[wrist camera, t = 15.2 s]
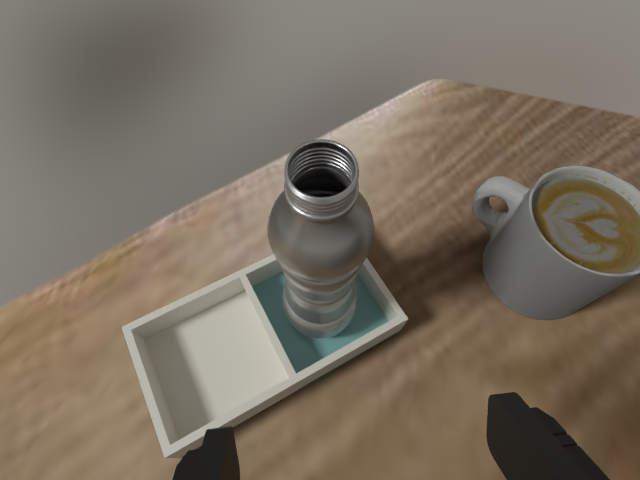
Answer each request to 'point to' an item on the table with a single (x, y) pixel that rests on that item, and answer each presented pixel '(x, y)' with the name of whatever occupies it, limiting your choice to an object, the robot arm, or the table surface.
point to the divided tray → (242, 351)
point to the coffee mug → (559, 239)
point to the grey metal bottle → (320, 237)
